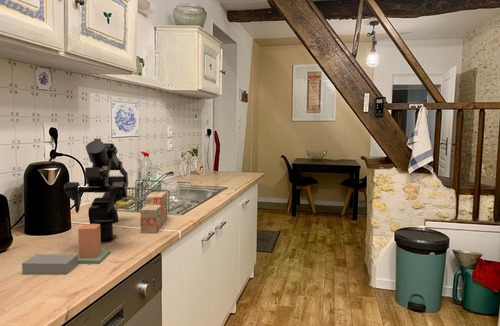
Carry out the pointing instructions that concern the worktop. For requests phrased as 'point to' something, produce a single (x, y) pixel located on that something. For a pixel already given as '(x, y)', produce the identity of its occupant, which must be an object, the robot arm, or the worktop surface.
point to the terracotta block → (89, 241)
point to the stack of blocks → (154, 212)
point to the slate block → (50, 264)
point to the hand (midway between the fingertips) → (92, 212)
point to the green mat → (97, 260)
